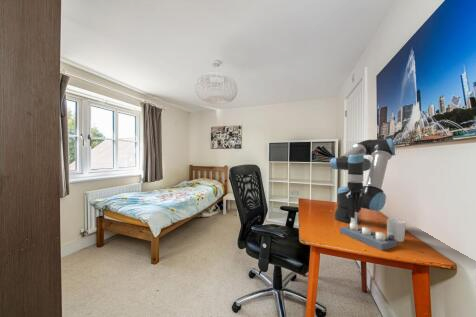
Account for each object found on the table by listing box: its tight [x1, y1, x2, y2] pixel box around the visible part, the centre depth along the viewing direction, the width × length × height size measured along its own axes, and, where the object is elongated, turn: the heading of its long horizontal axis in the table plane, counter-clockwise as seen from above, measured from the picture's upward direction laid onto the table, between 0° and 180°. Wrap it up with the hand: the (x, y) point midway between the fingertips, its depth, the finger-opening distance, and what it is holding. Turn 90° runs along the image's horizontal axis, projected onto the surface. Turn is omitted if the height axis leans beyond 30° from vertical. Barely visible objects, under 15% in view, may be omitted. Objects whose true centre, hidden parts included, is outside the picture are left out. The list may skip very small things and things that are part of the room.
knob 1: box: [349, 223, 359, 231], centre depth 108 cm, size 4×4×5 cm
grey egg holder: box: [339, 225, 398, 251], centre depth 102 cm, size 12×22×6 cm, turn 23°
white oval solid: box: [361, 226, 372, 236], centre depth 102 cm, size 4×4×5 cm
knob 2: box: [375, 231, 387, 242], centre depth 95 cm, size 4×4×5 cm
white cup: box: [386, 218, 407, 243], centre depth 102 cm, size 8×8×10 cm
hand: (353, 223), depth 108 cm, fingers closed
